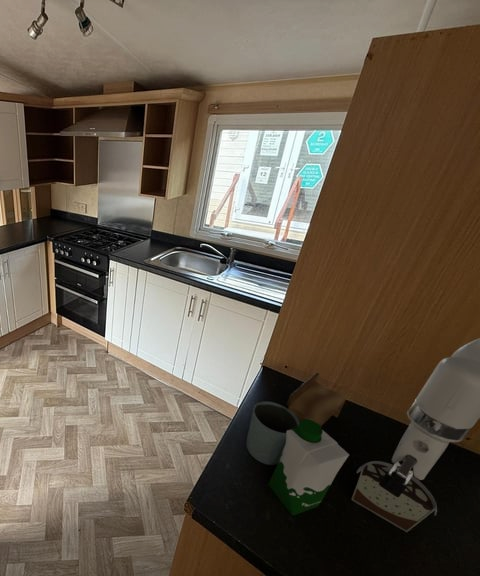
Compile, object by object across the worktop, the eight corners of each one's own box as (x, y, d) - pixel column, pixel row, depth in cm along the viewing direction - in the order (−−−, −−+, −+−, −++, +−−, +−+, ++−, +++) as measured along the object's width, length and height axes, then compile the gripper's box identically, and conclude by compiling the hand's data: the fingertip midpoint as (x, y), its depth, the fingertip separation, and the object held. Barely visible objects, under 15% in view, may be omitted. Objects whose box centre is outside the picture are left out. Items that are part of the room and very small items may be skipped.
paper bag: (338, 415, 91) (350, 390, 87) (313, 443, 83) (325, 416, 78) (306, 397, 98) (316, 372, 93) (280, 421, 89) (289, 395, 85)
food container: (416, 514, 67) (439, 485, 63) (416, 538, 63) (441, 509, 59) (347, 475, 75) (363, 448, 71) (343, 495, 71) (359, 466, 67)
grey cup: (237, 450, 81) (247, 418, 75) (249, 426, 88) (259, 394, 82) (280, 476, 75) (295, 442, 70) (290, 447, 82) (303, 414, 76)
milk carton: (291, 471, 76) (317, 413, 67) (325, 510, 68) (359, 450, 59) (261, 481, 74) (284, 422, 65) (292, 522, 66) (323, 461, 57)
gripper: (456, 459, 50) (407, 519, 58) (476, 411, 59) (431, 469, 67) (396, 426, 56) (359, 485, 63) (423, 387, 65) (387, 443, 72)
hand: (396, 477), depth 65 cm, fingers open, 9 cm apart
